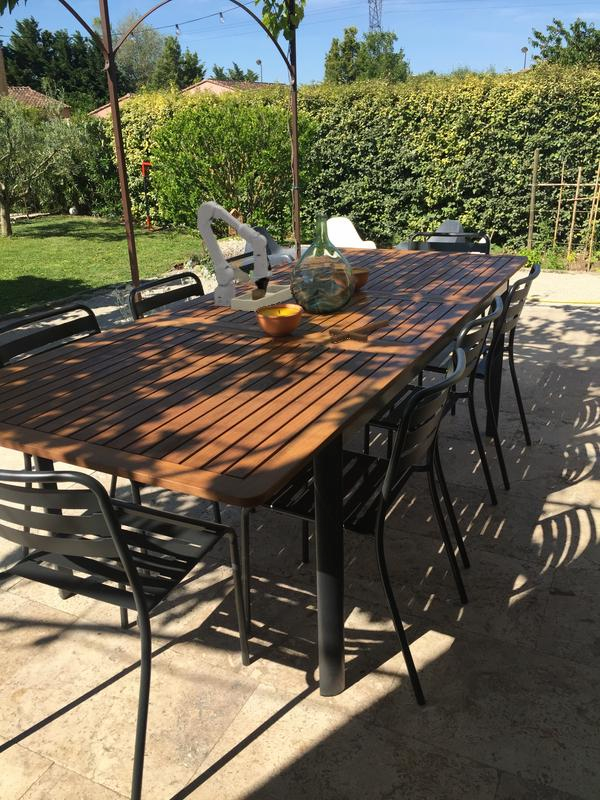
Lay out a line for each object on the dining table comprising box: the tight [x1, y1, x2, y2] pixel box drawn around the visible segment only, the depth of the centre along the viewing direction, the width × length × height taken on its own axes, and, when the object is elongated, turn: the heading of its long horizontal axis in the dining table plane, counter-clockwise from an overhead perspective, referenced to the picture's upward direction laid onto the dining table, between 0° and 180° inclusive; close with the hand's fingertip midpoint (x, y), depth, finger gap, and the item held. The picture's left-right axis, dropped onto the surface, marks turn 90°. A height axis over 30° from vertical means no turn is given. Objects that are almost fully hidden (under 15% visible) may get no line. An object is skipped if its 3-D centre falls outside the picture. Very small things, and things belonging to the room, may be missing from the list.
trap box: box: [230, 284, 293, 313], centre depth 283 cm, size 32×13×4 cm, turn 150°
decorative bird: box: [228, 259, 271, 286], centre depth 321 cm, size 24×10×15 cm
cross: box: [328, 319, 390, 343], centre depth 230 cm, size 16×2×30 cm
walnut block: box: [251, 288, 265, 300], centre depth 279 cm, size 4×4×4 cm
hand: (262, 295), depth 282 cm, fingers closed
